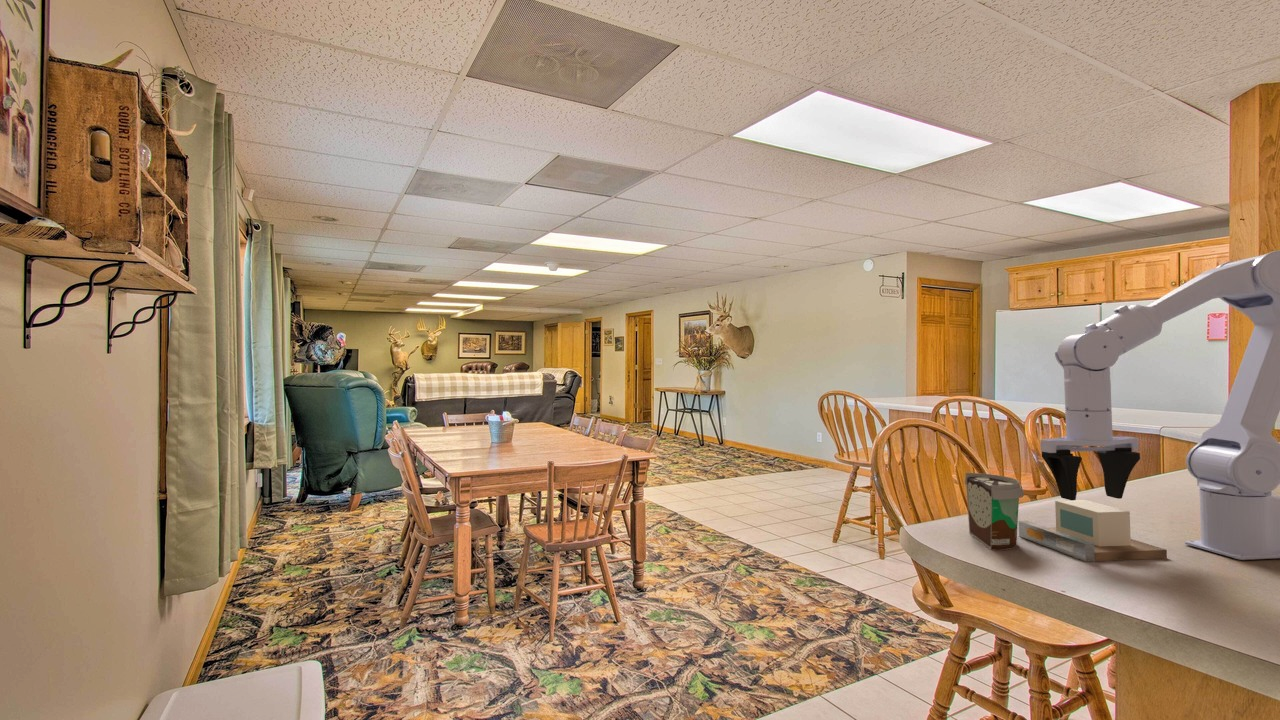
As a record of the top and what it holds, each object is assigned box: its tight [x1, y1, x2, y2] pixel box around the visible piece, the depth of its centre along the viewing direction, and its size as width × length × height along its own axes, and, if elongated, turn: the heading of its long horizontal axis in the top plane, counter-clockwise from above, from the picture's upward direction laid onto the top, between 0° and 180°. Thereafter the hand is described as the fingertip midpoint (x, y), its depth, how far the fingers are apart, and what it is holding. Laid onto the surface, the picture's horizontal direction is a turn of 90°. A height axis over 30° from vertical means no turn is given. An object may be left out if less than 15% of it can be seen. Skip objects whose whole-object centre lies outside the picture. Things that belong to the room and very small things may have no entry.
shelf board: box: [1049, 527, 1168, 562], centre depth 89 cm, size 11×13×1 cm
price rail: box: [1018, 520, 1096, 563], centre depth 89 cm, size 2×13×2 cm, turn 5°
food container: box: [964, 472, 1025, 551], centre depth 93 cm, size 12×6×10 cm, turn 168°
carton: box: [1054, 499, 1132, 547], centre depth 90 cm, size 8×5×5 cm, turn 4°
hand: (1091, 498), depth 90 cm, fingers open, 7 cm apart
